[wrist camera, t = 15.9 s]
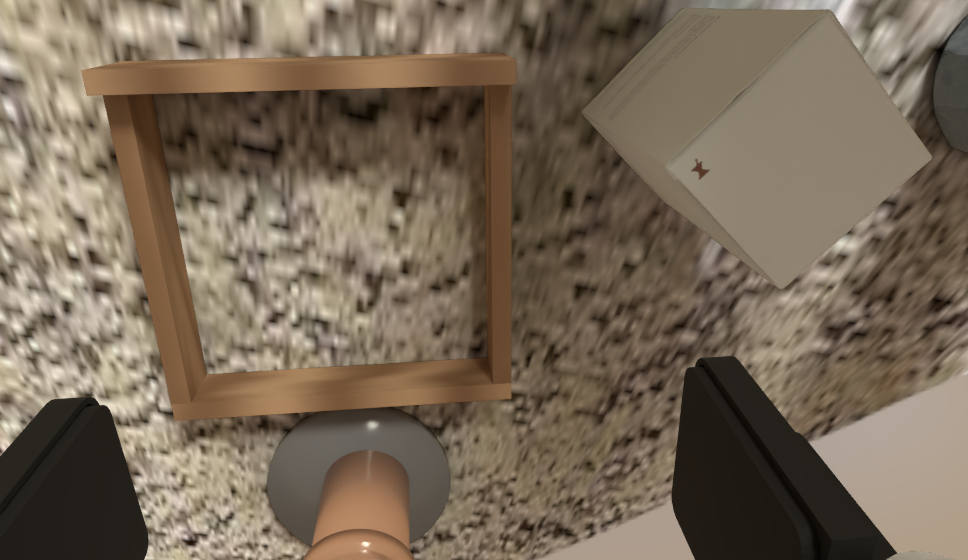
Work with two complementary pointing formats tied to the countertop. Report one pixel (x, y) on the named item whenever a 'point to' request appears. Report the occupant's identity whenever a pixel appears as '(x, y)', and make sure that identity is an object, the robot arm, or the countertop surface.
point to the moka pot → (953, 89)
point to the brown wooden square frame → (164, 259)
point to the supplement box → (760, 131)
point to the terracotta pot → (363, 510)
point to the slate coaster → (345, 432)
